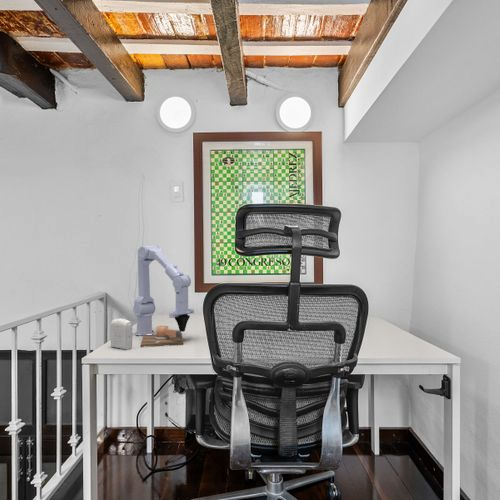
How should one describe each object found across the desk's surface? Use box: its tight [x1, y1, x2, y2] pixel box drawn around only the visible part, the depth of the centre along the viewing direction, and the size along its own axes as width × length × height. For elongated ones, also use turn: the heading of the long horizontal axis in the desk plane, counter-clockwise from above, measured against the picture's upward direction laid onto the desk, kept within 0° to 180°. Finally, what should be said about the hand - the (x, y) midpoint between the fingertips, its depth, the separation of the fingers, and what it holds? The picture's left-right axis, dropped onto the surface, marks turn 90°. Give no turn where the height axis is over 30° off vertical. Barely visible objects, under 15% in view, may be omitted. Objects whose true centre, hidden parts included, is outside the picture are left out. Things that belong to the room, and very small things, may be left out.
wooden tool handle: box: [156, 325, 182, 337], centre depth 174 cm, size 14×5×4 cm, turn 55°
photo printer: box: [110, 318, 133, 350], centre depth 165 cm, size 10×4×12 cm, turn 60°
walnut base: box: [140, 332, 184, 348], centre depth 176 cm, size 18×18×2 cm
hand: (182, 331), depth 177 cm, fingers closed
